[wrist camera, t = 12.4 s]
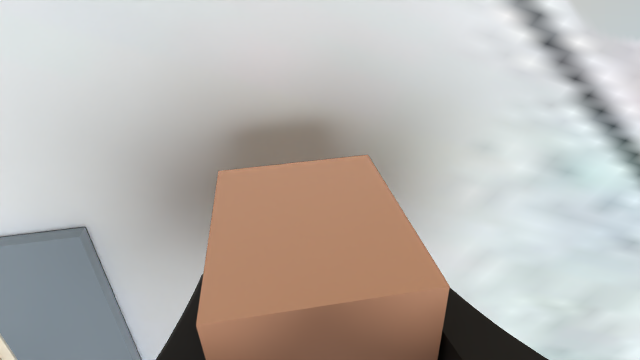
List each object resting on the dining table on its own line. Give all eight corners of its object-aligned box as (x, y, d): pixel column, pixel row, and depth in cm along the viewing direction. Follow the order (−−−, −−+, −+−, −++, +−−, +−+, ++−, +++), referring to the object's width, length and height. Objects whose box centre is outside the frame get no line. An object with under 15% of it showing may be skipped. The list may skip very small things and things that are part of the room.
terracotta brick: (364, 309, 14) (418, 471, 9) (248, 328, 13) (249, 507, 9) (367, 154, 11) (450, 286, 6) (218, 170, 10) (196, 325, 6)
